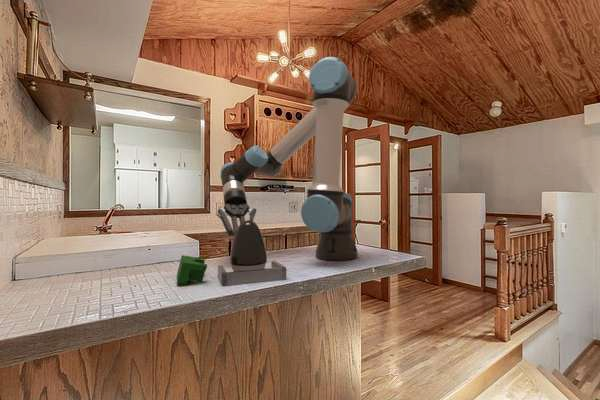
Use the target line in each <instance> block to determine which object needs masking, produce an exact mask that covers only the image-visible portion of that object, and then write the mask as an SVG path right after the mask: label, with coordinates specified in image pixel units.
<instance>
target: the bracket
mask: <svg viewBox="0 0 600 400" xmlns="http://www.w3.org/2000/svg"><path fill="white" fill-rule="evenodd" d="M270 263H271V265H270V266H271V267H270V268H269V267H268V268H264V269H256V270H245V271H226V269H225V268H224V266H223V265H221V264H220V265H217V277H218V280H219V282H220V284H221V286H222V287H225V286H226V287H227V286H236V285H245V284H254V283H256V284H257V283H262V282H263V283H264V282H273V281H282V280H283V281H285V280H287V267H286V266H284V265H283V264H281V263H280V262H278V261H277V260H271V261H270Z"/></svg>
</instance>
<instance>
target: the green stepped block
mask: <svg viewBox="0 0 600 400" xmlns="http://www.w3.org/2000/svg"><path fill="white" fill-rule="evenodd" d="M205 262H206V260H205V258H202V257H194V256H190V255H183V254H182V255H181V258H180V261H179V264H178V265H179V266H178V269H177V272H176V273H177V274H176V284H177V285H182V286H187V283H188V281H193V282H199V283H201V282H203V281H204V278H205V277H204V276H205V272H206V271H207V268H208V264H207V263H205Z"/></svg>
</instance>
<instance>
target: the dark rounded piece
mask: <svg viewBox="0 0 600 400" xmlns="http://www.w3.org/2000/svg"><path fill="white" fill-rule="evenodd" d="M230 248H231V249H230V254H229V255H230V256H229V264H230V267H231V268H232V272H234V271H245V270H256V269H266V263H267V262H268V256H267V250H266V249H267V247H266V244H265V240H264V238H263V234H262V231H261V229H260V227H259V226H258V224H257V223H256V222H255V221H254V220H253V221H250V220H249V219H248V220H245V221H244V222H242V223H241V224H240V223H239V224H238V229H237V231H236V233H235V236H233V240H232V243H231V247H230Z"/></svg>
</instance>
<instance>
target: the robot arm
mask: <svg viewBox="0 0 600 400" xmlns="http://www.w3.org/2000/svg"><path fill="white" fill-rule="evenodd" d="M308 82H309V86H310V88H311V89H312V106H313V108H312V109H311V110H310V111H308V113H307V114H305V116H304V117H303V118H301V120H299V122H298V123H297V124H295V126H293V127H292V129H290V131H288V132H287V134H285V135H284V136H283V137H282V138H281V139H280V140H278V142H277V143H276V144H275V145H273V147H272V148H271V149H270V150H269V151H268V152H267V153H266V152H265V150H264V149H263V148H262V147H260V146H259V145H253V146H251V147H250V148H249V149H248V150H246V151H245V152H244V153H243V154H241V156H239V157H238V158H237V159H236V160H235V162H234V161H233V162H232V161H230V162H226V163H225V164H222V166H221V168H220V181H221V185H222V187H221V188H222V195H223V203H224V206H223V208H222V209H221V208H219V209H217V217H218V219H220V220H221V222H222V224H223V227H224V229H225V231H226V234H227V236H229V237H231V236H233V237H234V236H235V233H236V231H237V229H238V227H239V225H240V224H241V223H242V222H244V221H246V218H245V216H246V215H247V214H248V215H249V218H248V220H250V221H253V222H254V219H255V217H256V213H257V208H250V206H249V205H248V202H247V196H246V191H245V187H244V182H245V181H246V180H248V179H249V178H250V177H251V176H252V175H254V174H258V175H264V176H268V177H270V176H271V177H274V176H277V175H279V174H280V173H281V171H282V166H283V165H284V164H285V163H286V162H288V161H289V160H290V158H292V156H294V155H295V154H296V153H297V152H298V151H299V150H301V148H302V147H303V146H304V145H305V144H307V143H308V141H309V142H310V140H311V139H312V138H313V137H315V139H314V154H313V155H314V156H313V171H312V172H313V173H312V184H311V185H310V186H309V187H307V189H306V190H307V191H306V199H305V200H304V201H303V203H302V206H301V209H300V211H301V212H300V213H301V214H300V215H301V219H302V221H303V223H304V225H305V227H307V228H308V229H309V230H311V231H313V232H315V233H320V234H319V240H318V243H317V246H316V248H315V258H317V259H320V260H325V261H350V260H349V259H352V260H355V259H354V258H356V259H357V258H359V257H358V255H359V254H358V248H357V245H356V243H355V239H354V237H353V204H354V203H353V198H352V195H351V194H350V193H348V192H344V189H342V187H341V185H340V177H341V160H342V144H343V141H342V140H343V132H344V131H343V128H344V125H343V124H344V113H345V111H346V110H347V109H348V108H349V106H350V105H351V104H352V103H353V101H354V99H355V97H356V95H357V83H356V81H355V78H354V77H353V75H352V74H351V72H350V71H349V69H348V67H347V65H346V64H345V62H344V61H342V60H341V59H340V58H339V57H335V56H326V57H323V58H321V59H319V60H318V61H317V62H316V63H315V64H313V66H312V68H311V69H310V71H309V76H308ZM228 216H229V217H230V218H231V222H230V220H229V219H228ZM238 219H239V220H238ZM238 221H239V224H238ZM231 224H232V225H231Z"/></svg>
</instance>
